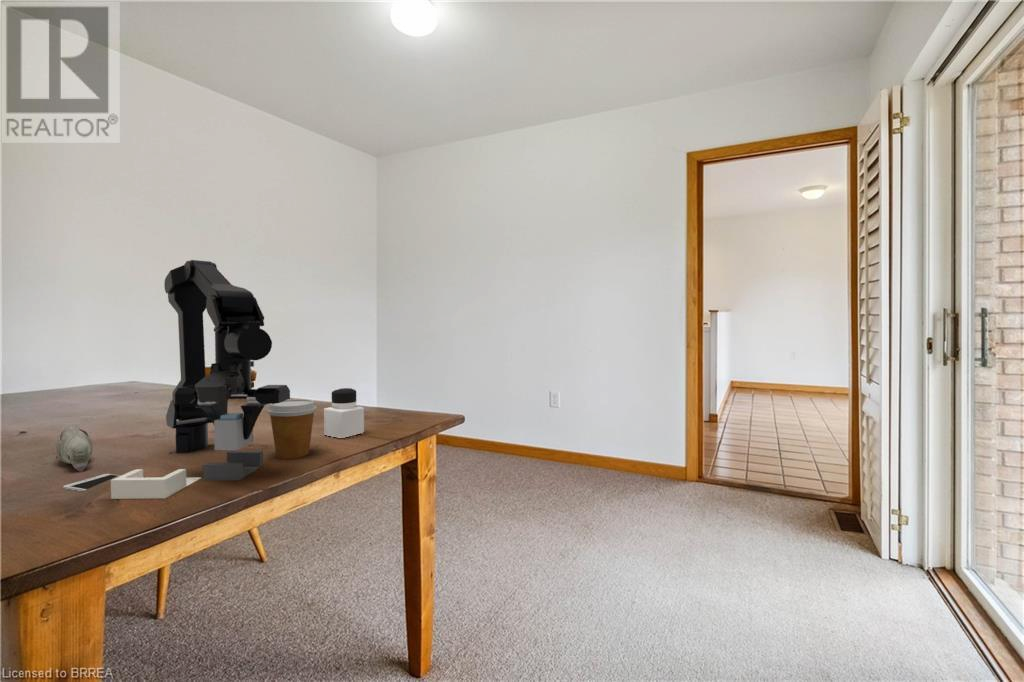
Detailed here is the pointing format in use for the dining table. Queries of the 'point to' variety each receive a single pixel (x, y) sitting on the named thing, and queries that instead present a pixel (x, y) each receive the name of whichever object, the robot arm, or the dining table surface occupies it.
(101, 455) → the dining table surface
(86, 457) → the decorative bird
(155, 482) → the port
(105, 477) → the smartphone
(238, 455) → the holster
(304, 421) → the disposable coffee cup
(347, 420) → the medicine bottle
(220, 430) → the plug
